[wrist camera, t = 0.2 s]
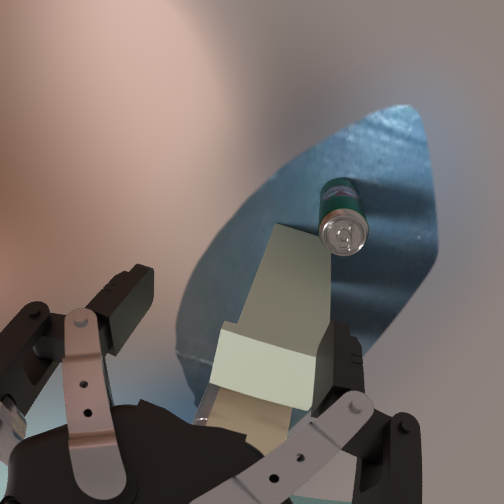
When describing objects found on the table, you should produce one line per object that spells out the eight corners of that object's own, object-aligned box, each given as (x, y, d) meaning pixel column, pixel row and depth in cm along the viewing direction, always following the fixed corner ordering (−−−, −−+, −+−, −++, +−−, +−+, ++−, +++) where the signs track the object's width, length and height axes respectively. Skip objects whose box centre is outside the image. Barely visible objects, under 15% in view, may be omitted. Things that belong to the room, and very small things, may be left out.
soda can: (357, 176, 37) (370, 210, 27) (359, 213, 39) (369, 259, 29) (318, 177, 38) (316, 212, 28) (321, 214, 40) (319, 260, 30)
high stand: (299, 329, 51) (266, 502, 26) (243, 312, 52) (179, 477, 26) (315, 294, 47) (288, 487, 21) (253, 275, 48) (180, 458, 22)
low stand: (320, 284, 46) (307, 410, 27) (256, 264, 47) (209, 382, 28) (338, 239, 42) (341, 363, 23) (269, 217, 42) (221, 328, 24)
